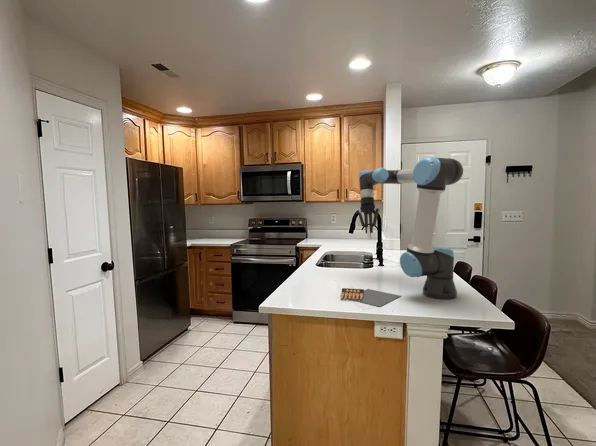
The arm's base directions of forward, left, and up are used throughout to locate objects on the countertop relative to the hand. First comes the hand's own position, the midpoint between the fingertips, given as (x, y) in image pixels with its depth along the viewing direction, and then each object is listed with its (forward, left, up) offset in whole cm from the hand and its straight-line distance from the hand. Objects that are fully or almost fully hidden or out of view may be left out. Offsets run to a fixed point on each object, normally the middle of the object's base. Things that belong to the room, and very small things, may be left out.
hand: (369, 238), depth 175 cm
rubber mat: (-16, +24, -24) cm, 38 cm away
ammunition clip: (-5, +25, -23) cm, 34 cm away
